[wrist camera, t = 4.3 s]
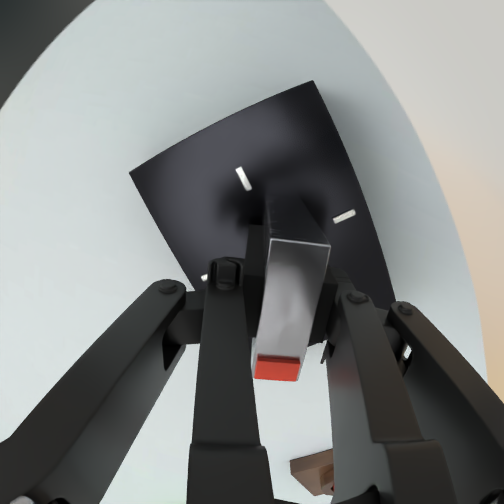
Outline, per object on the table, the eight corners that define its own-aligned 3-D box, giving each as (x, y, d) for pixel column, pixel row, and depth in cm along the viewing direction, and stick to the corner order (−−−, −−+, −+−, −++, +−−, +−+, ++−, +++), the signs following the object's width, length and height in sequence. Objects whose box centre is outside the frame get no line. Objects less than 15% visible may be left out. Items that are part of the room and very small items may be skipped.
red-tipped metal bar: (266, 194, 17) (270, 240, 9) (301, 198, 17) (333, 248, 9) (254, 288, 19) (250, 381, 12) (285, 291, 19) (298, 385, 12)
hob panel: (305, 88, 18) (313, 79, 15) (384, 288, 22) (398, 309, 20) (145, 167, 20) (127, 173, 17) (247, 345, 25) (245, 370, 22)
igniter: (381, 430, 29) (389, 455, 26) (390, 460, 32) (396, 481, 29) (289, 460, 31) (291, 485, 28) (313, 484, 35) (315, 506, 31)
